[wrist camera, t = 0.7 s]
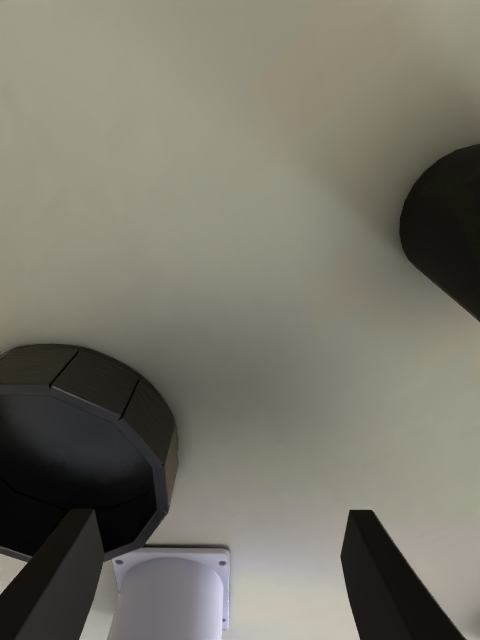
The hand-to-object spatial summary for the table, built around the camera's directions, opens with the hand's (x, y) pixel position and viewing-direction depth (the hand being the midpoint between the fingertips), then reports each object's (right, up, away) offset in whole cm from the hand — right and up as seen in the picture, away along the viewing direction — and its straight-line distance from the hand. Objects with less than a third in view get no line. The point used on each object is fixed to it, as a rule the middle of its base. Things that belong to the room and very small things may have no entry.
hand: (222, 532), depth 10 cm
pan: (-12, -2, +11) cm, 16 cm away
